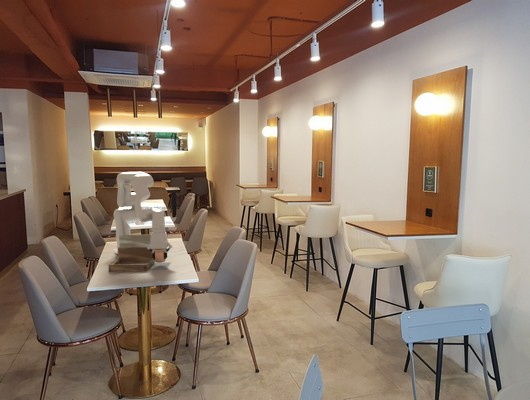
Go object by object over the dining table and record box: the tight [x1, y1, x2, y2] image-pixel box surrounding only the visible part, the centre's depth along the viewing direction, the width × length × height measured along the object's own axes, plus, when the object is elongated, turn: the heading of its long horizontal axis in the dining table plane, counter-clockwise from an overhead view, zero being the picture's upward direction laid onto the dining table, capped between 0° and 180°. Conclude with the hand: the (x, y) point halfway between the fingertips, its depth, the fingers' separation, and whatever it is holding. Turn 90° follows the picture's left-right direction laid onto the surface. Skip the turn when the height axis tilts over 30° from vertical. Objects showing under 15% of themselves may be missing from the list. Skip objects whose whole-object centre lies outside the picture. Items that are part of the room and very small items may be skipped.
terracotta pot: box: [154, 249, 166, 263], centre depth 242 cm, size 7×7×8 cm
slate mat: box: [148, 262, 172, 271], centre depth 243 cm, size 14×10×1 cm
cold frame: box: [107, 234, 155, 273], centre depth 241 cm, size 19×22×18 cm
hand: (160, 258), depth 242 cm, fingers closed on terracotta pot, 6 cm apart
